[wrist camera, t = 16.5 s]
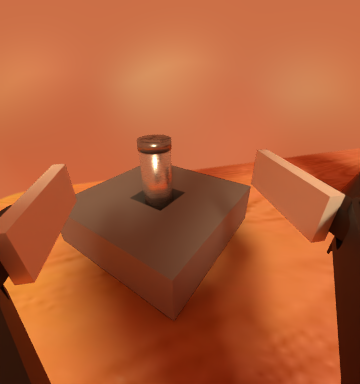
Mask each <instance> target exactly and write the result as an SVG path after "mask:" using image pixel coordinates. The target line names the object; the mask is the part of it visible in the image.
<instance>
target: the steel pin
mask: <svg viewBox="0 0 360 384" xmlns="http://www.w3.org/2000/svg"><path fill="white" fill-rule="evenodd" d="M137 147H138V151H139V157H140V166H141V175H142V183H143V192H144V201H145V205H148V206H150V207H152V208H155V209H157V210H160V211H161V210H163V209H164V208H165V207H167V206H168V205H169V204H171V203H172V202H173V200H172V172H171V137H168V136H165V135H147V136H142V137H139V138H138V139H137Z"/></svg>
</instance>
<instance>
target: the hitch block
mask: <svg viewBox="0 0 360 384" xmlns="http://www.w3.org/2000/svg"><path fill="white" fill-rule="evenodd" d="M171 172H172V200H173V202H172V203H171V204H169V205H168V206H167V207H165V208H164V209H163V210H161V211H160V210H157V209H155V208H152V207H150V206H148V205H145V201H144V192H143V183H142V175H141V166H138V167H136V168H134V169H132V170H129V171H127V172H125V173H123V174H121V175H118V176H116V177H114V178H111V179H109V180H107V181H105V182H102V183H100V184H98V185H96V186H93V187H91V188H89V189H87V190H84V191H82V192H80V193H77V194H75V196H76V199H77V201H76V203H75V205H74V207H73V209H72V211H71V213H70V215H69V217H68V219H67V221H66V223H65V224H64V226H63V228H62V230H61V234H62V236H63V239H64V240H65V241H66V242H68V243H69V244H70V245H72V246H73V247H74V248H76V249H77V250H78V251H80V252H81V253H82V254H84V255H85V256H86V257H88V258H89V259H91V260H92V261H93V262H95V263H96V264H97V265H99V266H100V267H101V268H103V269H104V270H105V271H107V272H108V273H109V274H111V275H112V276H113V277H115V278H116V279H118V280H119V281H120V282H122V283H123V284H124V285H126V286H127V287H128V288H130V289H131V290H132V291H134V292H135V293H136V294H138V295H139V296H141V297H142V298H143V299H145V300H146V301H147V302H149V303H150V304H151V305H153V306H154V307H155V308H157V309H158V310H159V311H161V312H162V313H164V314H165V315H166V316H168V317H169V318H170V319H172V320H173V321H174V320H175V319H176V317H177V316H178V315H179V313H180V312H181V310H182V309H183V307H184V306H185V304H186V303H187V301H188V300H189V299H190V297H191V296H192V294H193V293H194V291H195V290H196V288H197V287H198V285H199V284H200V282H201V281H202V280H203V278H204V277H205V275H206V274H207V272H208V271H209V269H210V268H211V266H212V265H213V264H214V262H215V261H216V259H217V258H218V256H219V255H220V253H221V252H222V250H223V249H224V248H225V246H226V245H227V243H228V242H229V240H230V239H231V237H232V236H233V234H234V233H235V231H236V230H237V229H238V227H239V226H240V224H241V223H242V221H243V220H244V218H245V214H246V209H247V203H248V198H249V193H250V187H251V186H247V185H244V184H240V183H236V182H232V181H229V180H225V179H221V178H217V177H213V176H210V175H206V174H202V173H198V172H194V171H191V170H186V169H183V168H179V167H176V166H172V165H171Z"/></svg>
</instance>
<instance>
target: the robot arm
mask: <svg viewBox="0 0 360 384" xmlns="http://www.w3.org/2000/svg"><path fill="white" fill-rule="evenodd" d="M251 184H252V185H253V186H254V187H255V188H256V189H257V190H258V191H259V192H260V193H261V194H262V195H263V196H264V197H265V198H266V199H267V200H268V201H269V202H270V203H271V204H272V205H273V206H274V207H275V208H276V209H277V210H278V211H280V212H281V213H282V214H283V215H284V216H285V217H286V218H287V219H288V220H289V221H290V222H291V223H292V224H293V225H294V226H295V227H296V228H297V229H298V230H299V231H300V232H301V233H302V234H303V235H304V236H305V237H306V238H307V239H308V240H309V241H310V242H311V243H312V242H319V241H325V239H326V236H327V234H328V232H331V233H332V234H333V235H334V238H333V240H332V242H331V244H330V246H329V248H328V251H327V253H328V254H329V253H330V251H332V252H333V266H334V281H335V296H336V311H337V325H338V340H339V355H340V370H341V384H360V172H359V173H358V174H357V175H356V176H355V177H354V178H353V179H352V180H351V181H350V182H349V183H348V184H347V185H346V186H345V187H344V188H343V189H342V191H341V192H340V191H338V190H337V189H335V188H332V187H331V186H330V185H327V184H326V183H325V182H323V181H321V180H319V179H317V178H315V177H314V176H312V175H310V174H308V173H307V172H305V171H303V170H302V169H300V168H298V167H296V166H295V165H293V164H291V163H290V162H288V161H286V160H285V159H283V158H281V157H279V156H278V155H276V154H274V153H273V152H271V151H269V150H267V149H264V150H257V154H256V160H255V165H254V171H253V176H252V182H251ZM76 201H77V199H76V196H75V193H74V190H73V187H72V184H71V180H70V177H69V174H68V171H67V168H66V165H65V164H58V165H52V166H51V167H50V168H49V169H48V170H47V171H46V172H45V173H44V174H43V175H42V176H41V177H40V178H39V179H38V180H37V181H36V182H35V183H34V184H33V185H32V186H31V187H30V188H29V189H28V190H27V191H26V192H25V193H24V194H23V195H22V196H21V197H20V198H19V199H18V200H17V201H16V202H15V203H14V204H13V205H10V206H8V207H6V208H5V209H3V210H1V211H0V384H51V383H50V380H49V378H48V376H47V374H46V372H45V370H44V368H43V366H42V363H41V361H40V359H39V357H38V355H37V353H36V351H35V349H34V346H33V344H32V342H31V340H30V338H29V336H28V334H27V332H26V329H25V327H24V325H23V323H22V321H21V319H20V317H19V315H18V313H17V310H16V308H15V306H14V304H13V302H12V300H11V298H10V296H9V293H8V291H7V289H6V288H5V287H4V285H3V284H4V282H5V281H6V279H7V278H8V276H9V277H10V279H11V280H12V282H13V283H14V285H20V284H27V283H34V282H35V280H36V279H37V277H38V275H39V273H40V271H41V269H42V267H43V265H44V263H45V261H46V259H47V257H48V255H49V253H50V252H51V250H52V248H53V246H54V244H55V242H56V240H57V238H58V236H59V234H60V232H61V230H62V228H63V226H64V224H65V223H66V221H67V219H68V217H69V215H70V213H71V211H72V209H73V207H74V205H75V203H76Z"/></svg>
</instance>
